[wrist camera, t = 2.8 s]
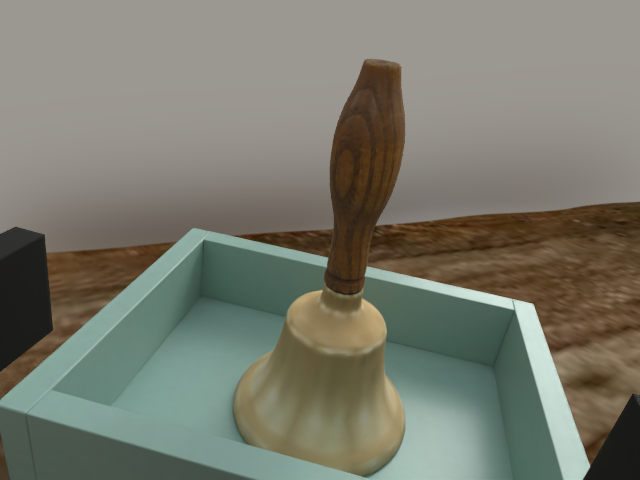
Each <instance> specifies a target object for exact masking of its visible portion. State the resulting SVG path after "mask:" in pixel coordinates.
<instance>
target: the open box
mask: <svg viewBox="0 0 640 480" xmlns="http://www.w3.org/2000/svg"><path fill="white" fill-rule="evenodd" d="M327 261H328V258H326V257H322V256H318V255H313V254H309V253H304V252H300V251H295V250H291V249H286V248H282V247H277V246H273V245H269V244H264V243H260V242H255V241H251V240H246V239H242V238H237V237H233V236H228V235H224V234H219V233H215V232H210V231H205V230H201V229H196V228H193V229H192V230H191V231H189V232H188V234H186V235H185V236H184V237H183V238H182V239H180V240H179V241H178V242H177V243H176V244H175V245H174V246H173V247H171V248H170V249H169V250H168V251H167V252H166V253H165V254H164V255H162V256H161V257H160V258H159V259H158V260H157V261H156V262H155V263H153V264H152V265H151V266H150V267H149V268H148V269H147V270H146V271H144V272H143V273H142V274H141V275H140V276H139V277H138V278H137V279H135V280H134V281H133V282H132V283H131V284H130V285H129V286H128V287H126V288H125V289H124V290H123V291H122V292H121V293H120V294H119V295H117V296H116V297H115V298H114V299H113V300H112V301H111V302H110V303H108V304H107V305H106V306H105V307H104V308H103V309H102V310H101V311H100V312H98V313H97V314H96V315H95V316H94V317H93V318H92V319H91V320H89V321H88V322H87V323H86V324H85V325H84V326H83V327H82V328H80V329H79V330H78V331H77V332H76V333H75V334H74V335H73V336H71V337H70V338H69V339H68V340H67V341H66V342H65V343H64V344H62V345H61V346H60V347H59V348H58V349H57V350H56V351H55V352H53V353H52V354H51V355H50V356H49V357H48V358H47V359H46V360H44V361H43V362H42V363H41V364H40V365H39V366H38V367H37V368H35V369H34V370H33V371H32V372H31V373H30V374H29V375H28V376H26V377H25V378H24V379H23V380H22V381H21V382H20V383H19V384H17V385H16V386H15V387H14V388H13V389H12V390H11V391H10V392H8V393H7V394H6V395H5V396H4V397H3V398H2V399H1V400H0V433H1V438H2V443H3V448H4V453H5V458H6V463H7V468H8V472H9V477H10V480H583V478H584V477H585V475H586V473H587V471H588V470H589V468H590V464H589V461H588V459H587V456H586V453H585V450H584V447H583V444H582V441H581V439H580V436H579V433H578V430H577V427H576V424H575V422H574V419H573V416H572V413H571V410H570V407H569V404H568V402H567V399H566V396H565V393H564V390H563V387H562V384H561V382H560V379H559V376H558V373H557V370H556V367H555V365H554V362H553V359H552V356H551V353H550V350H549V347H548V345H547V342H546V339H545V336H544V333H543V330H542V328H541V325H540V322H539V319H538V316H537V313H536V310H535V308H534V305H533V304H531V303H527V302H522V301H518V300H513V299H509V298H505V297H500V296H496V295H491V294H487V293H482V292H478V291H474V290H469V289H465V288H460V287H456V286H451V285H447V284H442V283H438V282H433V281H429V280H425V279H420V278H416V277H411V276H407V275H402V274H398V273H393V272H389V271H384V270H380V269H376V268H371V267H367V269H366V273H365V284H364V287H363V296H362V299H364V300H366V301H367V302H369V303H371V304H372V305H373V306H374V307H375V308H376V309H377V310H378V311H379V312H380V314H381V315H382V317H383V319H384V321H385V324H386V329H387V336H386V343H385V355H384V369H385V375H386V376H387V377H388V378H389V379H390V381H391V382H392V383H393V385H394V387H395V388H396V390H397V392H398V394H399V396H400V399H401V401H402V405H403V408H404V413H405V420H406V422H405V434H404V437H403V441H402V443H401V445H400V447H399V449H398V451H397V452H396V454H395V455H394V456H393V457H392V458H391V459H390V460H389V461H388V462H387V463H386V464H385V465H384V466H383V467H381V468H380V469H378V470H376V471H375V472H373V473H371V474H369V475H367V476H364V477H361V476H358V475H354V474H351V473H347V472H343V471H340V470H336V469H333V468H329V467H325V466H322V465H318V464H315V463H311V462H308V461H304V460H300V459H297V458H293V457H290V456H286V455H282V454H279V453H275V452H272V451H268V450H264V449H261V448H257V447H254V446H250V445H248V444H247V443H246V441H245V440H244V438H243V437H242V435H241V434H240V432H239V430H238V427H237V424H236V421H235V417H234V412H233V399H234V393H235V389H236V387H237V384H238V382H239V380H240V379H241V377H242V375H243V374H244V373H245V372H246V370H247V369H248V368H249V367H250V366H251V365H252V364H253V363H254V362H255V361H256V360H258V359H259V358H260V357H262V356H264V355H265V354H267V353H269V352H271V351H273V350H274V348H275V346H276V344H277V342H278V340H279V337H280V335H281V331H282V328H283V325H284V322H285V318H286V314H287V312H288V309H289V307H290V306H291V304H292V303H293V302H294V301H295V300H296V299H298V298H299V297H301V296H302V295H304V294H307V293H310V292H313V291H320V290H323V287H324V283H325V282H324V274H325V270H326V268H327Z"/></svg>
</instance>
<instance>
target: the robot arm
mask: <svg viewBox="0 0 640 480" xmlns="http://www.w3.org/2000/svg"><path fill="white" fill-rule="evenodd" d="M52 330H53V325H52V314H51V303H50V291H49V280H48V269H47V257H46V246H45V235H44V234H40V233H37V232H33V231H29V230H26V229H22V228H18V227H14V228H12V229H10V230H8V231H6V232H4V233H1V234H0V371H2V370H3V369H4V368H5V367H7V366H8V365H9V364H11V363H12V362H13V361H14V360H16V359H17V358H18V357H19V356H21V355H22V354H23V353H25V352H26V351H27V350H28V349H30V348H31V347H32V346H33V345H35V344H36V343H37V342H38V341H40V340H41V339H42V338H44V337H45V336H46V335H47V334H49V333H50V332H51V331H52ZM583 480H640V395H637V394H632V396H631V398H630V399H629V401H628V403H627V405H626V406H625V408H624V410H623V411H622V413H621V415H620V417H619V418H618V420H617V422H616V423H615V425H614V427H613V429H612V430H611V432H610V434H609V435H608V437H607V439H606V441H605V442H604V444H603V446H602V447H601V449H600V451H599V453H598V454H597V456H596V458H595V459H594V461H593V463H592V465H591V466H590V468H589V470H588V471H587V473H586V475H585V477H584V478H583Z"/></svg>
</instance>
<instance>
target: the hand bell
mask: <svg viewBox="0 0 640 480" xmlns="http://www.w3.org/2000/svg"><path fill="white" fill-rule="evenodd" d="M404 143H405V114H404V106H403V99H402V90H401V66H400V64H398V63H395V62H390V61H385V60H378V59H366V60H365V61H364V63H363V66H362V69H361V72H360V75H359V77H358V80H357V82H356V84H355V86H354V88H353V90H352V92H351V94H350V96H349V98H348V100H347V102H346V103H345V105H344V108H343V110H342V113H341V115H340V118H339V120H338V123H337V127H336V130H335V134H334V139H333V145H332V152H331V161H330V191H331V199H332V205H333V212H334V230H333V237H332V242H331V247H330V252H329V257H328V261H327V268H326V270H325V274H324V282H325V283H324V287H323V290H320V291H313V292H310V293H307V294H304V295H302V296H301V297H299V298H298V299H296V300H295V301H294V302H293V303H292V304H291V306H290V307H289V309H288V312H287V314H286V318H285V322H284V325H283V328H282V331H281V335H280V337H279V340H278V342H277V344H276V346H275V348H274V350H273V351H271V352H269V353H267V354H265V355H264V356H262V357H260V358H259V359H258V360H256V361H255V362H254V363H253V364H252V365H251V366H250V367H249V368H248V369H247V370H246V372H245V373H244V374H243V375H242V377H241V379H240V380H239V382H238V384H237V387H236V389H235V393H234V399H233V412H234V417H235V421H236V424H237V427H238V430H239V432H240V434H241V435H242V437H243V438H244V440H245V441H246V443H247V444H248V445H250V446H254V447H257V448H261V449H264V450H268V451H272V452H275V453H279V454H282V455H286V456H290V457H293V458H297V459H300V460H304V461H308V462H311V463H315V464H318V465H322V466H325V467H329V468H333V469H336V470H340V471H343V472H347V473H351V474H354V475H358V476H361V477H364V476H367V475H369V474H371V473H373V472H375V471H376V470H378V469H380V468H381V467H383V466H384V465H385V464H386V463H387V462H388V461H389V460H390V459H391V458H392V457H393V456H394V455H395V454H396V452H397V451H398V449H399V447H400V445H401V443H402V441H403V437H404V434H405V422H406V420H405V413H404V408H403V405H402V401H401V399H400V396H399V394H398V392H397V390H396V388H395V387H394V385H393V383H392V382H391V381H390V379H389V378H388V377H387V376H386V375H385V369H384V355H385V343H386V336H387V329H386V324H385V321H384V319H383V317H382V315H381V314H380V312H379V311H378V310H377V309H376V308H375V307H374V306H373V305H372V304H371V303H369V302H367V301H366V300H364V299H362V296H363V287H364V284H365V273H366V269H367V262H368V255H369V248H370V242H371V238H372V234H373V231H374V228H375V225H376V223H377V221H378V219H379V217H380V215H381V213H382V212H383V210H384V208H385V206H386V205H387V202H388V200H389V198H390V196H391V194H392V191H393V189H394V186H395V183H396V180H397V176H398V173H399V170H400V166H401V160H402V156H403V149H404Z"/></svg>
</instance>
